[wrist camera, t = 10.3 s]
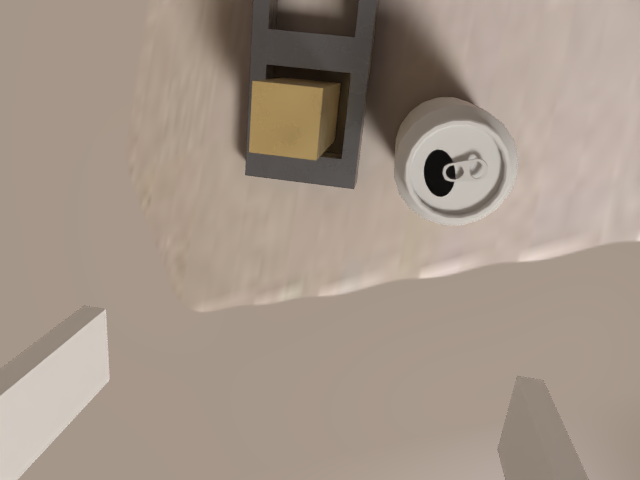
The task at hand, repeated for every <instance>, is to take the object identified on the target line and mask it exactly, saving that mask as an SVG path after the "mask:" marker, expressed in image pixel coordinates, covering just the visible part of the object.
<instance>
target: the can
mask: <svg viewBox="0 0 640 480" xmlns="http://www.w3.org/2000/svg"><path fill="white" fill-rule="evenodd" d="M517 167H518V155H517V151H516V146H515V142H514V139H513V138H512V136H511V135H510V133H509V132H508V130H507V128H506V127H505V125H504V124H503V123H502V122H500V121H499V120H498V119H496V118H495V117H494V116H492V115H491V114H490V113H489V112H487V111H485V110H483V109H481V108H479V107H477V106H475V105H473V104H471V103H469V102H467V101H464V100H461V99H458V98H455V97H437V98H434V99H431V100H428V101H425V102H423V103H421V104H420V105H418V106H417V107H416V108H414V109H413V110H411V111H410V112H409V114H408V115H407V116H406V118H405V119H404V120H403V122H402V123H401V125H400V128H399V131H398V133H397V136H396V143H395V160H394V178H395V181H396V185H397V188H398V191H399V194H400V195H401V197H402V198H403V200H404V201H405V203H406V204H407V205H408V207H409V208H410V209H411V210H413V211H414V212H415V213H417V214H418V215H419V216H421V217H422V218H423V219H426V220H429V221H432V222H435V223H438V224H441V225H463V224H467V223H471V222H474V221H478V220H480V219H482V218H483V217H485V216H487V215H488V214H490V213H492V212H493V211H495V210H496V209H497V208H498V207H499V205H500V204H501V203H502V202H503V201H504V200H505V199H506V198H507V197H508V195H509V193H510V191H511V189H512V186H513V184H514V182H515V180H516V176H517Z"/></svg>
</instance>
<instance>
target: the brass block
mask: <svg viewBox="0 0 640 480" xmlns="http://www.w3.org/2000/svg"><path fill="white" fill-rule="evenodd" d="M340 87H341V83H333V82H324V81H314V80H305V79H295V78H276V79H265V80H255V81H252V99H251V121H250V142H249V152H251V153H259V154H268V155H276V156H284V157H292V158H300V159H309V160H317V159H318V158H319V157H320V156H321V155H322V154H323V153H324V151H325V150H326V149H327V148H328V147H329V146H330V145H331V144H332V143H333V141H334V140H335V136H336V126H337V116H338V107H339V97H340Z"/></svg>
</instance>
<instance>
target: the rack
mask: <svg viewBox="0 0 640 480" xmlns="http://www.w3.org/2000/svg"><path fill="white" fill-rule="evenodd" d="M277 5H278V0H253V15H252V37H251V60H250V82H249V104H248V126H247V148H246V170H245V175H248V176H256V177H264V178H271V179H279V180H287V181H295V182H303V183H311V184H319V185H326V186H334V187H342V188H350V189H354V188H355V185H356V182H357V174H358V166H359V158H360V149H361V141H362V133H363V125H364V116H365V108H366V100H367V91H368V83H369V75H370V67H371V58H372V50H373V42H374V34H375V25H376V17H377V9H378V0H359V4H358V14H357V23H356V32H355V37H348V36H337V35H327V34H316V33H305V32H295V31H284V30H276V22H277ZM274 65H277V66H287V67H297V68H306V69H316V70H326V71H336V72H345V73H351V78H350V87H349V96H348V105H347V115H346V124H345V133H344V142H343V151H342V154H339V153H331V152H324V153H323V154H322V155H321V156H320V157H319V158H318V159H317V160H309V159H300V158H292V157H284V156H276V155H268V154H259V153H251V152H249V142H250V121H251V99H252V81H255V80H265V79H273V72H274Z"/></svg>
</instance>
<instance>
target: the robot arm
mask: <svg viewBox="0 0 640 480" xmlns="http://www.w3.org/2000/svg"><path fill="white" fill-rule="evenodd" d="M108 381H109V361H108V342H107V324H106V309H102V308H96V307H90V306H83V307H81V308H80V309H79V310H77V311H76V312H75V313H73V314H72V315H71V316H69V317H68V318H67V319H65V320H64V321H63V322H61V323H60V324H59V325H58V326H56V327H55V328H53V329H52V330H51V331H50V332H48V333H47V334H46V335H44V336H43V337H42V338H40V339H39V340H38V341H37V342H35V343H34V344H32V345H31V346H30V347H28V348H27V349H26V350H24V351H23V352H22V353H20V354H19V355H18V356H16V357H15V358H14V359H12V360H11V361H10V362H8V363H7V364H6V365H4V366H3V367H2V368H1V369H0V480H17V479H18V478H19V477H20V476H21V475H22V474H23V473H24V472H25V471H26V470H27V469H28V468H29V466H30V465H31V464H32V463H33V462H34V461H35V460H36V459H37V458H38V457H39V456H40V455H41V453H42V452H43V451H44V450H45V449H46V448H47V447H48V446H49V445H50V444H51V443H52V442H53V440H54V439H55V438H56V437H57V436H58V435H59V434H60V433H61V432H62V431H63V430H64V429H65V428H66V426H67V425H68V424H69V423H70V422H71V421H72V420H73V419H74V418H75V417H76V416H77V415H78V414H79V412H80V411H81V410H82V409H83V408H84V407H85V406H86V405H87V404H88V403H89V402H90V401H91V399H92V398H93V397H94V396H95V395H96V394H97V393H98V392H99V391H100V390H101V389H102V387H103V386H104V385H105V384H106V383H107V382H108ZM498 453H499V457H500V461H501V465H502V468H503V473H504V476H505V480H589V479H588V477H587V474H586V472H585V470H584V468H583V466H582V464H581V461H580V459H579V457H578V455H577V453H576V450H575V448H574V446H573V444H572V442H571V439H570V437H569V435H568V433H567V431H566V429H565V426H564V424H563V422H562V420H561V418H560V415H559V413H558V411H557V409H556V407H555V404H554V402H553V400H552V398H551V396H550V393H549V391H548V389H547V387H546V385H545V383H544V381H543V380H540V379H534V378H527V377H521V376H517V378H516V381H515V385H514V389H513V393H512V397H511V401H510V404H509V408H508V412H507V415H506V419H505V423H504V427H503V431H502V434H501V438H500V442H499V446H498Z"/></svg>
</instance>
